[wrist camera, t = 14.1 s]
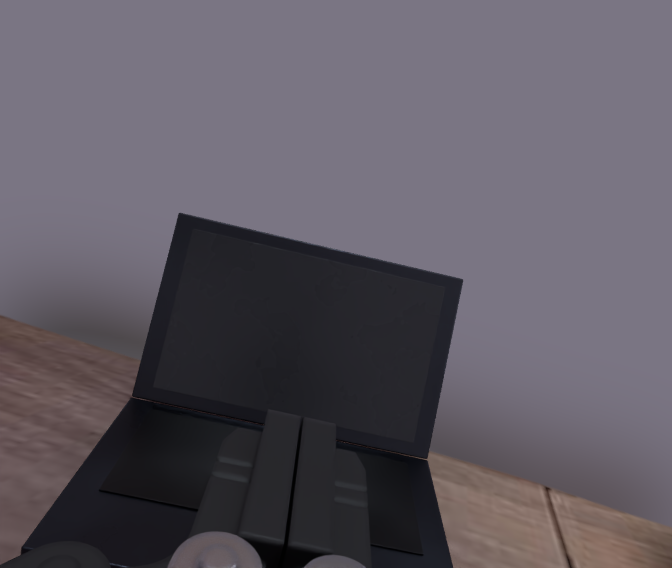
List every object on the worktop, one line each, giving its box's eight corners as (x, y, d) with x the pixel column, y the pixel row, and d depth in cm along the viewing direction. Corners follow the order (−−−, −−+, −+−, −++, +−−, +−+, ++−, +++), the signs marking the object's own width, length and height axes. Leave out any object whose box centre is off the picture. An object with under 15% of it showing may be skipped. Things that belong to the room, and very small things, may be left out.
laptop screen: (464, 279, 30) (460, 280, 30) (178, 211, 29) (181, 214, 29) (427, 459, 29) (424, 456, 29) (130, 396, 28) (134, 395, 28)
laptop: (454, 669, 20) (470, 632, 19) (17, 587, 19) (20, 545, 18) (418, 486, 29) (428, 458, 29) (127, 426, 28) (131, 395, 28)
